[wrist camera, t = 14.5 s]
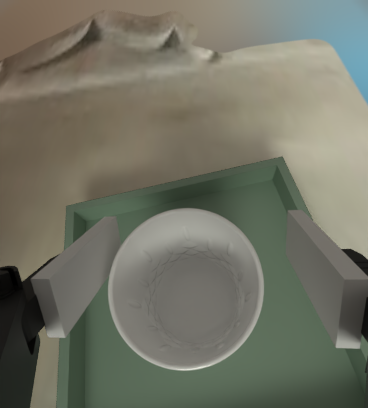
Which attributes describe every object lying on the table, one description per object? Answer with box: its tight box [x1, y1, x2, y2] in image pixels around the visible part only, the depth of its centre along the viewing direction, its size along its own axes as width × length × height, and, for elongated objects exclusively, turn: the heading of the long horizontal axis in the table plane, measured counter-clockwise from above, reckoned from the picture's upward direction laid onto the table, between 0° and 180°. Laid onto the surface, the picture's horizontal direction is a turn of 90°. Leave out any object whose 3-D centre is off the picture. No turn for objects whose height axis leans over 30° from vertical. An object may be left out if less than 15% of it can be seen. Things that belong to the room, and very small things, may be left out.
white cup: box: [108, 208, 264, 371], centre depth 17 cm, size 8×8×10 cm
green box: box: [56, 157, 368, 408], centre depth 21 cm, size 22×22×4 cm
